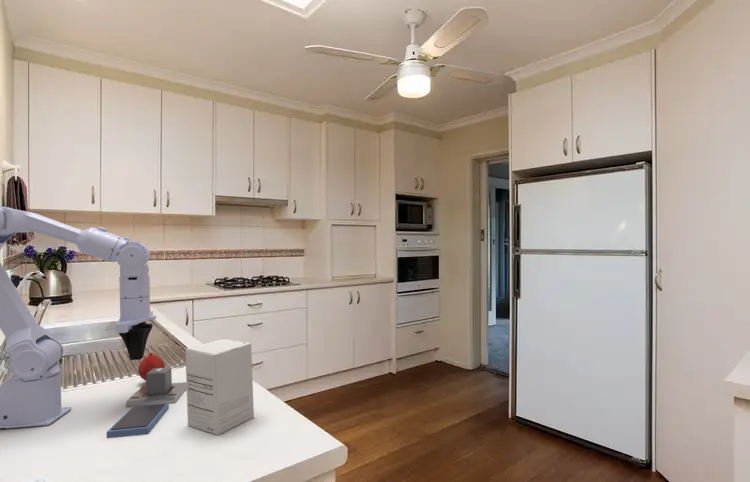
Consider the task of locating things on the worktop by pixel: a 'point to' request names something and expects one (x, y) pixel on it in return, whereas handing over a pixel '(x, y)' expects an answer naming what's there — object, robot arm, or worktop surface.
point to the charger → (159, 381)
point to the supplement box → (219, 385)
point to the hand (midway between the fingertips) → (136, 359)
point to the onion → (149, 364)
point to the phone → (138, 420)
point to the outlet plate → (156, 396)
